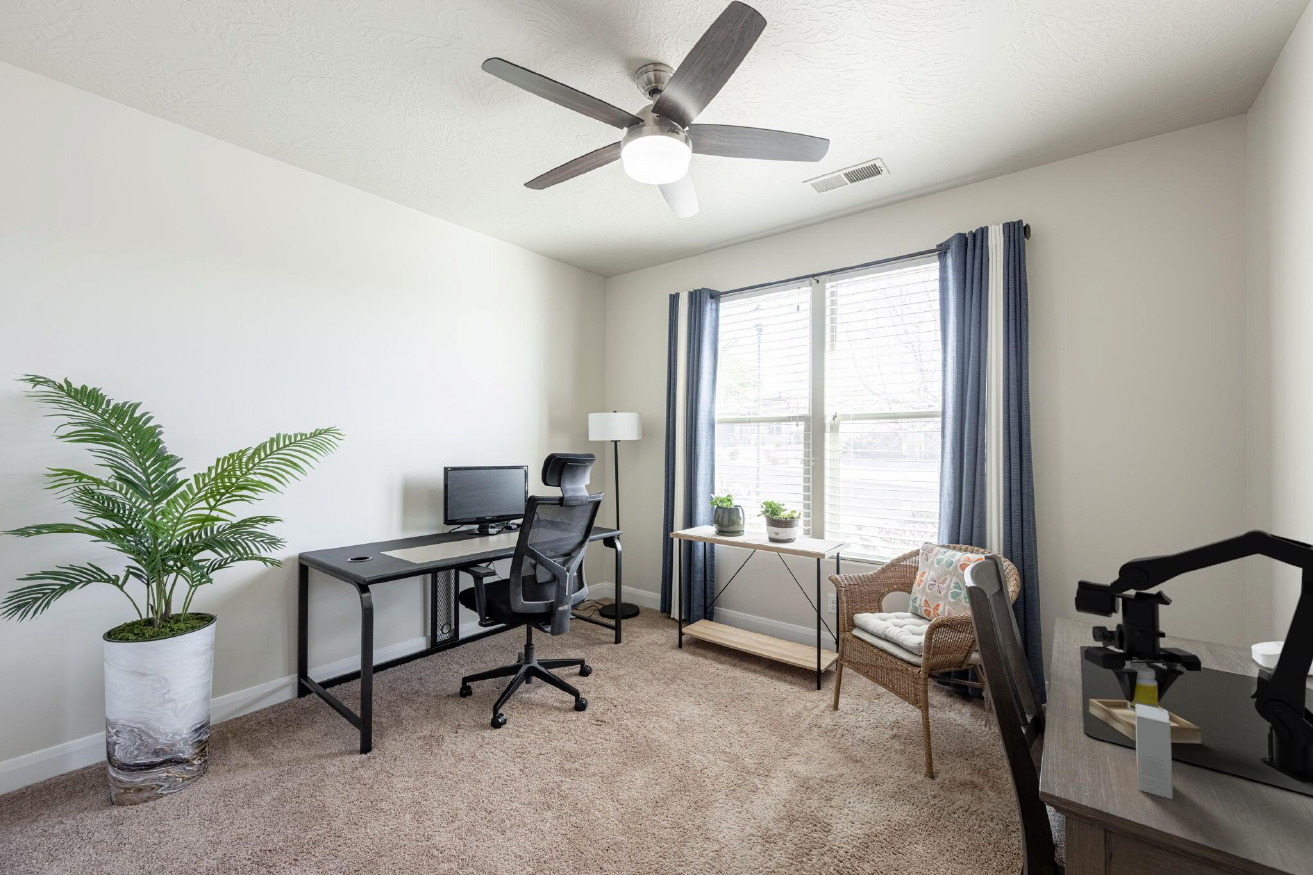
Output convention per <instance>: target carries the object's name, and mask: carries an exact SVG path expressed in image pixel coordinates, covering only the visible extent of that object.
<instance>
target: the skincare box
mask: <svg viewBox="0 0 1313 875" xmlns="http://www.w3.org/2000/svg"><path fill="white" fill-rule="evenodd" d="M1163 709H1164V708H1163ZM1163 709H1159V708H1154V707H1150V706H1146V705H1141V704H1135V717H1136V741H1135V753H1136V757H1135V758H1136V773H1137V788H1138V790H1139V791H1140V790H1141V792H1145V793H1147V792H1148V794H1151V795H1154V794H1155V796H1157V797H1162V798H1165V797H1166V798H1165V799H1168V798H1169V800H1173V796H1174V795H1173V794H1174V793H1173V768H1172V767H1173V766H1172V765H1173V764H1172V742H1171V729H1170V720H1169V714H1168V711H1169V710H1167V709H1165V710H1163Z"/></svg>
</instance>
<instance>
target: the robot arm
mask: <svg viewBox="0 0 1313 875" xmlns="http://www.w3.org/2000/svg"><path fill="white" fill-rule="evenodd" d="M1254 555H1255V556H1256V555H1260V556H1264V557H1268V558H1270V559H1273V560H1276V561H1278V562H1282V563H1284V564H1287V565H1290V566H1294V567H1296V568H1299V569H1301V580H1300V581H1301V582H1300V583H1301V584H1300V594H1299V597H1298V600H1297V603H1296V607H1295V609H1294V611H1293V615H1292V618H1291V621H1290V624H1289V627H1288V629H1287V633H1286V636H1285V638H1284V642H1283V643H1282V647H1281V650H1280V653H1279V656H1278V659H1277V662H1276V664H1275V666H1274V667H1273V668H1272V669H1271V671H1270V672H1268V671H1266V670H1264V669H1262V668H1259V669H1258V672H1257V676H1256V683H1255V685H1252V689H1251V692H1250V699H1252V700H1253V699H1255V700H1254V708H1255V711H1256V712H1257V713H1258V715H1259V716H1260V717H1261V718H1263V719H1264V720H1265V721H1266V722H1268V723H1269V724H1270V725H1269V726H1268V727H1269V732H1268V733H1267V748H1268V749H1267V750H1268V752H1267V753H1268V754H1267V755H1268V756H1261V757H1260V761H1262V762H1264V763H1266V764H1268V765H1270V766H1271V767H1273V768H1275V769H1277V770H1279V771H1281V772H1283V773H1284V774H1287V775H1288V776H1290V777H1292V778H1294V779H1296V780H1299V781H1306V782H1307V781H1309V782H1310V781H1311V782H1313V712H1312V711H1311V710H1310V709H1309V708H1308V707H1307V706H1306V696H1307V695H1306V694H1307V678H1308V676H1309V673H1310V670H1311V666H1312V664H1313V544H1311V543H1307V542H1303V541H1300V540H1295V539H1291V538H1287V537H1284V536H1280V535H1276V534H1272V533H1269V532H1267V531H1265V530H1261V529H1252V530H1248V531H1246V532H1245V533H1243V534H1240V535H1235V536H1232V537H1228V538H1224V539H1221V540H1217V541H1214V542H1211V543H1208V544H1207V543H1206V544H1204V545H1200V546H1197V547H1193V548H1190V549H1186V550H1183V551H1179V552H1177V553H1176V552H1175V553H1173V554H1165V555H1164V554H1163V555H1155V556H1145V557H1144V556H1143V557H1137V558H1133V559H1131V560H1129V561H1127V562H1125V563H1124V564H1122V565H1121V566H1120V567H1119V570H1118V577H1117V579H1115V580H1113V581H1111V582H1110V584H1107V583H1106V584H1105V583H1101V582H1099V583H1098V582H1092V581H1090V580H1085V579H1081V580H1079V581H1077V588H1076V595H1075V597H1074V607H1075V610H1076V612H1077V613H1081V614H1082V613H1084V614H1087V615H1095V616H1097V617H1098V616H1100V617H1103V618H1110V619H1111V618H1112V616H1113V614H1116V615H1118V614H1119V612H1120V606H1121V623H1116V625H1115V629H1114V630H1110V629H1108V628H1107V626H1105V625H1095V626H1092V630H1091V631H1092V633H1091V634H1092V639H1093V641H1094V642H1095V643H1102V645H1101V646H1100V645H1099V646H1098V645H1097V646H1096V645H1095V646H1094V645H1093V646H1091V645H1090V646H1089V645H1088V646H1087V647H1085V649H1084V651H1083V652H1084V660H1086V661H1088V662H1090V663H1091V664H1094V665H1096V666H1097V667H1099V668H1102V669H1106V670H1111V671H1112V672H1113V674H1114V676H1115V678H1116V679H1117V682H1118V684H1119V687H1120V689H1121V691H1122V693H1123V696H1124V698H1125V700H1127V701H1129V702H1133V699H1134V695H1135V688H1136V681H1137V675H1138V672H1137V671H1135V670H1133V669H1132V665H1133V664H1146V667H1149V668H1151V669H1153V670H1154V671H1155V678H1154V679H1155V680H1156V681H1157V684H1158V704H1159V703H1160V702H1161V700H1162V699H1163V697H1164V696H1165V695H1166V694H1167V691H1169V689H1170V687H1171V686H1173V684H1174V683H1175V682H1176V680H1177V679H1178V678H1179V677H1180V676H1184V675H1185V672H1184V671H1182V670H1180V669H1179V666H1178V664H1179V665H1180V667H1182V668H1183V670H1185V671H1187V672H1202V660H1201V659H1200V658H1199V657H1198V655H1197V654H1194V653H1192V652H1189V651H1187V650H1184V649H1182V648H1181V649H1180V648H1179V647H1161V639H1163V638H1164V639H1166V632H1164V631H1162V630H1160V629H1161V628H1160V625H1161V624H1160V605H1162V606H1170V605H1171V604H1172V603H1173V599H1172V598H1170V597H1169V596H1167V595H1166V594H1165V593H1164V591H1163V590H1161V589H1159V590H1158V591H1157V592H1155V593H1154V592H1153V593H1152V592H1147V591H1148V590H1150V589H1153V588H1155V587H1157V586H1160V585H1161V584H1163V583H1165V582H1168V581H1169V580H1172V579H1173V578H1177V577H1178V576H1180V575H1183V574H1186V573H1190V572H1194V571H1198V570H1201V569H1202V570H1203V569H1206V568H1209V567H1212V566H1217V565H1220V564H1221V565H1222V564H1224V563H1227V562H1231V561H1235V560H1239V559H1240V560H1241V559H1243V558H1246V557H1247V558H1248V557H1251V556H1254ZM1130 590H1132V591H1133V590H1134V591H1135V592H1134V594H1131V593H1129V594H1128V593H1125V592H1128V591H1130ZM1144 591H1145V592H1144ZM1120 599H1121V603H1120ZM1120 604H1121V605H1120ZM1109 647H1113V648H1114V649H1116V650H1118V651H1116V650H1114V649H1111V648H1109ZM1119 651H1120V652H1119ZM1121 651H1122V652H1121Z"/></svg>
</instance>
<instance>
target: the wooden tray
mask: <svg viewBox="0 0 1313 875" xmlns="http://www.w3.org/2000/svg"><path fill="white" fill-rule="evenodd" d="M1088 708H1089V709H1088V712H1089V713H1090V714H1092V715H1093V716H1095V717H1096V718H1098V719H1099V720H1101V721H1103V722H1104V723H1106V725H1109V726H1110V727H1113V729H1115V730H1117V731H1118V732H1120V733H1121V734H1123V735H1124V736H1126V737H1127V738H1129V739H1131V740H1132V741H1133V742H1136V717H1135V712H1134V711H1132V710H1130V709H1129V708H1128V707H1127V700H1126V699H1104V698H1088ZM1158 708H1159V709H1163V710H1166V709H1165V708H1164V707H1161V706H1160V705H1158ZM1167 711H1168V714H1169V720H1170V729H1171V743H1180V744H1202V727H1199V726H1197V725H1195V724H1193V723H1191V722H1189V721H1187V720H1186V719H1184V718H1182V717H1180V716H1178V715H1177V714H1175V713H1173V712H1170V711H1169V710H1167Z"/></svg>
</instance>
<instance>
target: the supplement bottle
mask: <svg viewBox="0 0 1313 875" xmlns="http://www.w3.org/2000/svg"><path fill="white" fill-rule="evenodd" d="M1132 669H1133V670H1135V671H1137V672H1138V675H1137V681H1136V688H1135V695H1134V699H1133V702H1129V701H1127V707H1128V708H1129V709H1130V710H1132V711H1134V712H1135V704H1141V705H1146V706H1150V707H1154V708H1158V706H1159V703H1158V684H1157V681H1156V680H1155V679H1154V678H1155V671H1154V670H1153V669H1151V668H1149V667H1147V666H1145V665H1140V664H1139V665H1138V664H1132Z"/></svg>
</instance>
